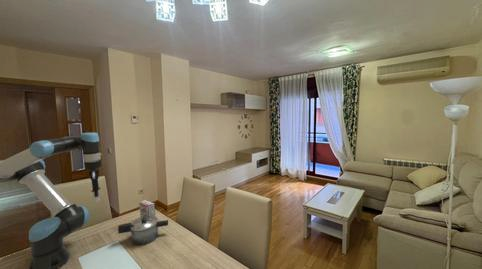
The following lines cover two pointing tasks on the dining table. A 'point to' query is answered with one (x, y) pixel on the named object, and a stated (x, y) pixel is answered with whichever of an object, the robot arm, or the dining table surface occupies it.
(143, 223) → the lid
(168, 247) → the dining table surface
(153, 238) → the pot
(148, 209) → the candy bar box
